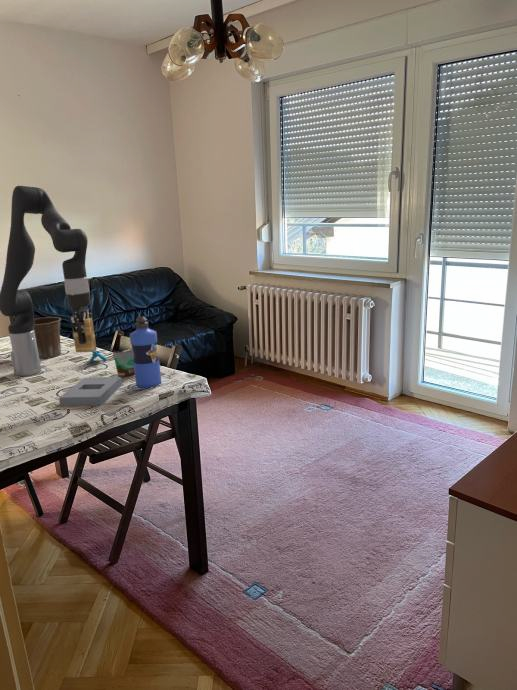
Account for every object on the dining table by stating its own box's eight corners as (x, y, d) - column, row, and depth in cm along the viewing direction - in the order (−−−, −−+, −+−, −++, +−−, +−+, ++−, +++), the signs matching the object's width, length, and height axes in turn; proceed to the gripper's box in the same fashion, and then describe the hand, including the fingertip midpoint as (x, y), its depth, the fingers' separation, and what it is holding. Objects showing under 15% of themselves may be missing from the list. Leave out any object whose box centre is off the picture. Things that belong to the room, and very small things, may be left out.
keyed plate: (60, 406, 173) (58, 397, 172) (85, 385, 192) (84, 377, 191) (101, 405, 171) (99, 396, 171) (122, 384, 191) (121, 376, 190)
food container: (127, 380, 195) (123, 354, 193) (115, 378, 199) (112, 352, 196) (150, 370, 205) (147, 346, 203) (138, 368, 209) (135, 344, 206)
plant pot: (52, 348, 247) (47, 315, 243) (73, 352, 238) (68, 318, 234) (20, 358, 234) (14, 322, 230) (41, 362, 225) (35, 326, 221)
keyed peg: (93, 351, 176) (88, 319, 173) (76, 352, 176) (71, 320, 174) (96, 349, 179) (92, 317, 176) (79, 349, 179) (75, 318, 176)
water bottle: (130, 387, 187) (121, 319, 180) (145, 379, 195) (137, 313, 189) (152, 389, 184) (144, 320, 177) (166, 380, 192) (159, 314, 185)
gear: (108, 360, 217) (88, 345, 214) (99, 371, 217) (79, 357, 214) (107, 356, 228) (88, 343, 225) (99, 367, 227) (79, 354, 224)
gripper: (75, 288, 179) (83, 337, 184) (56, 295, 166) (65, 348, 170) (96, 287, 179) (103, 336, 183) (79, 294, 165) (87, 347, 170)
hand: (84, 341), depth 177 cm, fingers closed on keyed peg, 3 cm apart
